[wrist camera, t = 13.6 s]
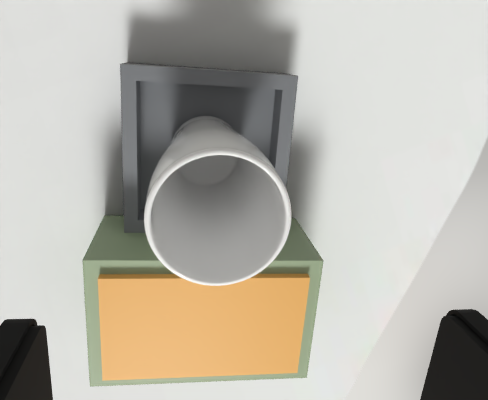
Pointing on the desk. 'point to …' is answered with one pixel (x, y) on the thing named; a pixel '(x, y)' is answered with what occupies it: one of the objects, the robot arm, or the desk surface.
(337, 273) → the desk surface
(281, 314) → the green box with frame
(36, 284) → the desk surface
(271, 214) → the drinking glass
